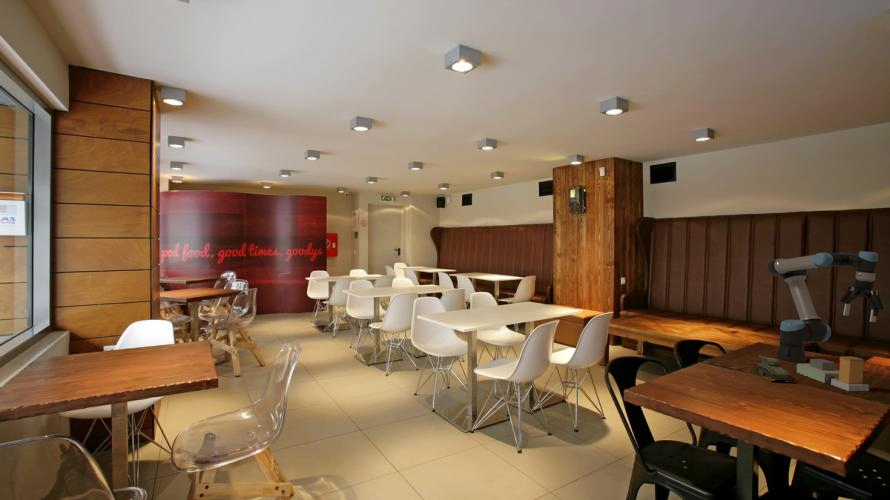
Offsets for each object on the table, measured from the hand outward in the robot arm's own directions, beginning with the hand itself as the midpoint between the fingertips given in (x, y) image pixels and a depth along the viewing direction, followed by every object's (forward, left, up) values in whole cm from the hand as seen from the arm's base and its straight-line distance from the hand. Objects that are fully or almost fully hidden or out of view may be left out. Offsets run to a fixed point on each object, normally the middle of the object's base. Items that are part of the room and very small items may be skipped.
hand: (858, 318), depth 236 cm
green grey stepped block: (+11, -26, -31) cm, 42 cm away
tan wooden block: (+21, -26, -31) cm, 45 cm away
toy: (+5, -55, -31) cm, 63 cm away
